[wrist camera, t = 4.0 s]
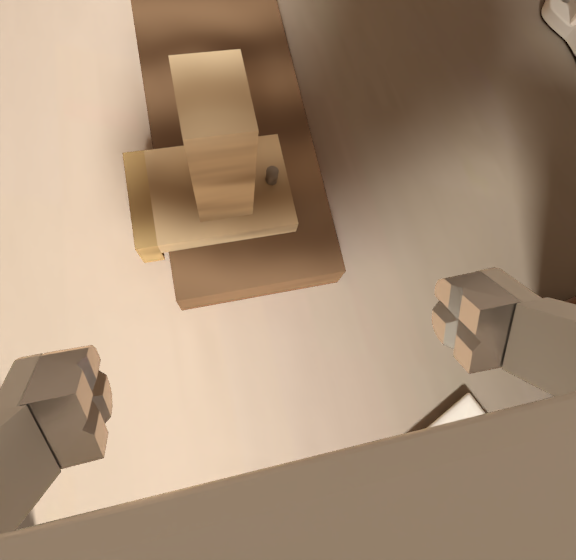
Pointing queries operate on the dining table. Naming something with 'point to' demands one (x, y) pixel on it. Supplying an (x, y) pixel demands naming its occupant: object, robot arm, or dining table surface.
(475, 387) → the dining table surface
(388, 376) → the dining table surface
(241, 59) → the stacked wooden blocks
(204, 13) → the board
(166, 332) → the dining table surface
